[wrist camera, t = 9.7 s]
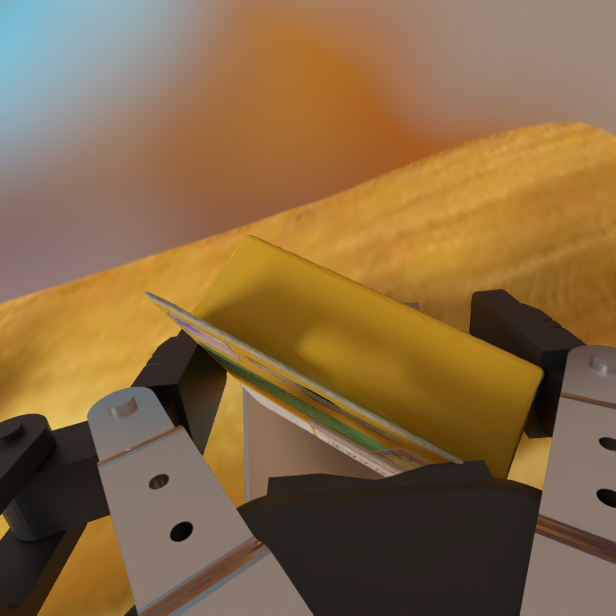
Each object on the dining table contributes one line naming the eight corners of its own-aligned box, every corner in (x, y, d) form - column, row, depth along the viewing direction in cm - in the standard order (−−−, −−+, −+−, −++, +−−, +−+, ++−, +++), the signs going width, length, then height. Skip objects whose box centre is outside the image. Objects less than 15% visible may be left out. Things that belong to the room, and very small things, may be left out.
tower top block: (266, 526, 21) (251, 539, 17) (258, 343, 25) (243, 321, 21) (440, 511, 21) (462, 521, 17) (406, 327, 25) (417, 302, 21)
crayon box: (440, 423, 17) (615, 341, 6) (411, 492, 16) (554, 531, 5) (290, 344, 19) (226, 174, 8) (256, 402, 18) (132, 297, 7)
